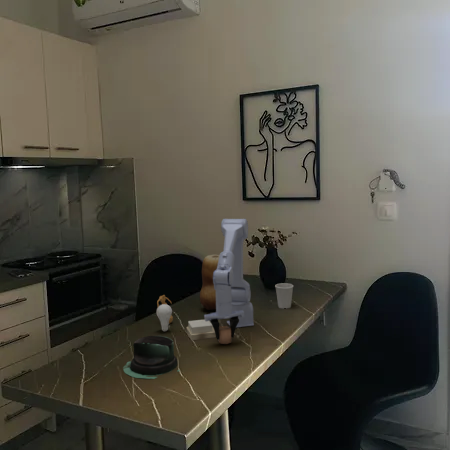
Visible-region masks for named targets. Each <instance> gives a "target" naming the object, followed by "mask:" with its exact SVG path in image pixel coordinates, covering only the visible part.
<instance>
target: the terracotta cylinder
mask: <svg viewBox="0 0 450 450" xmlns="http://www.w3.org/2000/svg"><path fill="white" fill-rule="evenodd" d="M218 343H219V344H221V345H228V344H231V343H232V337H231V327H230V325H229V326H227V325H221V326H219V340H218Z"/></svg>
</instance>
